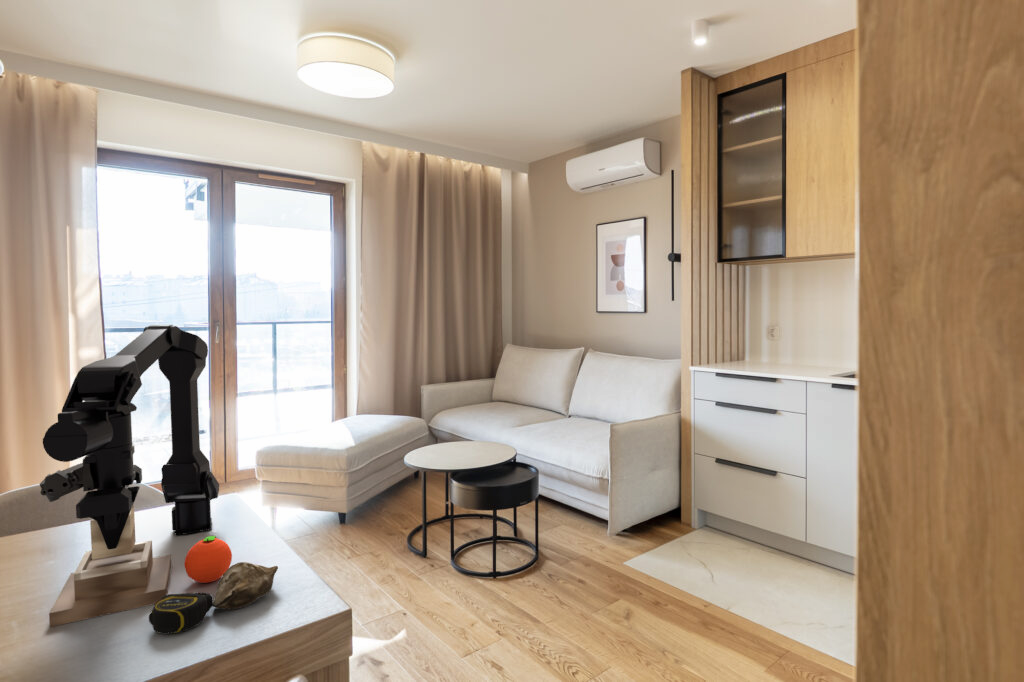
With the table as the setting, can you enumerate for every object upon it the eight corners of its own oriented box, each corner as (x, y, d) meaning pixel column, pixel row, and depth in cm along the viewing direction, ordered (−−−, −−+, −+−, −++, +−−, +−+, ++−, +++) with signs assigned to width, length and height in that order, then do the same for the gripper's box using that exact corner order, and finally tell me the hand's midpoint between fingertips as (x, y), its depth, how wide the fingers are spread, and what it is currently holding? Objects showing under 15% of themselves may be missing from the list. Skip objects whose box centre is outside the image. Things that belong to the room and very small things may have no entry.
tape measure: (215, 612, 82) (214, 587, 82) (192, 638, 76) (191, 612, 75) (167, 614, 82) (166, 589, 82) (140, 641, 75) (139, 614, 75)
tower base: (171, 565, 98) (170, 532, 97) (165, 601, 85) (164, 563, 85) (71, 585, 91) (69, 549, 91) (49, 626, 79) (47, 585, 78)
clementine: (194, 570, 96) (192, 530, 95) (238, 565, 97) (236, 526, 97) (179, 593, 88) (177, 549, 87) (227, 587, 90) (225, 544, 89)
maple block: (135, 541, 91) (133, 505, 91) (131, 552, 87) (130, 514, 86) (97, 547, 89) (96, 510, 88) (92, 559, 84) (90, 521, 84)
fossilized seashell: (230, 608, 79) (292, 590, 87) (222, 561, 81) (283, 548, 89) (203, 623, 82) (265, 604, 90) (196, 577, 84) (257, 563, 93)
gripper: (59, 439, 91) (64, 532, 92) (26, 466, 75) (32, 579, 76) (140, 431, 97) (144, 519, 97) (126, 455, 80) (131, 561, 81)
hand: (114, 542), depth 88 cm, fingers closed on maple block, 5 cm apart
